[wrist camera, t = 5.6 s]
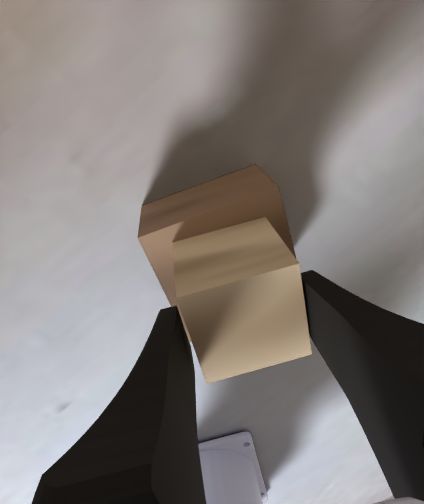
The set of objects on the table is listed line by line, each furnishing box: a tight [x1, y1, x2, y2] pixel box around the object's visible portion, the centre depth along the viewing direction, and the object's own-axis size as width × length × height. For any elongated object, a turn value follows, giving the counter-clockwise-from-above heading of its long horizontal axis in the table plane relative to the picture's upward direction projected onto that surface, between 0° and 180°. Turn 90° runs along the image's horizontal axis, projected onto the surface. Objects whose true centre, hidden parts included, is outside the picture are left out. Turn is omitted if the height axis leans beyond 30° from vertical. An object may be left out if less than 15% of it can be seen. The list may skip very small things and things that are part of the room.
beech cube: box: [172, 217, 312, 384], centre depth 14 cm, size 4×4×4 cm
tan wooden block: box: [138, 164, 296, 342], centre depth 17 cm, size 6×6×4 cm
